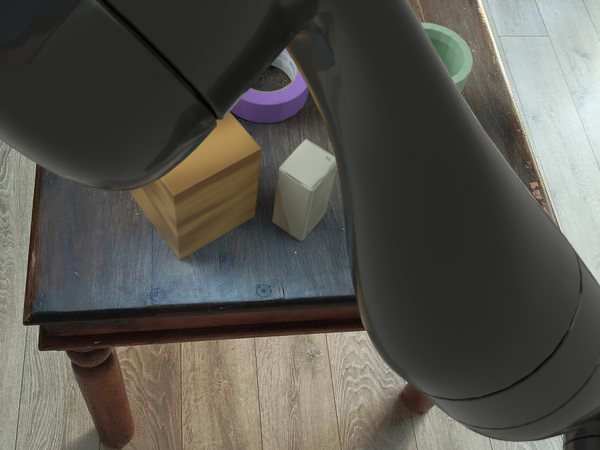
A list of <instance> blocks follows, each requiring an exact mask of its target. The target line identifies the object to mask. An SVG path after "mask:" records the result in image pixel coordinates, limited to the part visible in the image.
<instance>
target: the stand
mask: <svg viewBox="0 0 600 450" xmlns="http://www.w3.org/2000/svg"><path fill="white" fill-rule="evenodd" d="M216 121H217V127H216V128H215V129H214V130H213V131H212V132H211V133H210V134H209V136H208V137H207V138H206V139H205V140H204V141H203V142H202V143H201V144H200V145H199V146H198V147H197V148H196V149H195V150H194V151H193V152H192V153H191V154H190V155H189V156H188V157H187V158H186V159H185V160H184V161H182V162H181V163H180V164H179V165H178V166H176V167H175V168H174V169H173V170H172V171H170V172H169V173H168V174H166V175H165V176H163V177H162V178H160V179H159V180H156V181H154V182H152V183H150V184H148V185H146V186H144V187H141V188H138V189H135V190H130V194H131V197H132V198H133V200H134V201H135V203H136V204H137V206H139V208H140V209H141V210H142V212H143V213H144V215H145V216H146V217H147V218H148V220H149V221H150V223H151V224H152V225H153V226H154V228H155V229H156V231H157V232H158V233H159V235H160V236H161V237H162V239H163V240H164V241H165V243H166V244H167V246H169V249H171V251H172V252H173V253H174V256H176V258H177V259H178V260H179V261H181V260H183V259H185V258H187V257H188V256H190V255H192V254H193V253H195V252H197V251H198V250H200V249H202V248H203V247H205V246H207V245H209V244H210V243H212V242H214V241H215V240H217V239H219V238H221V237H222V236H224V235H226V234H227V233H229V232H231V231H232V230H234V229H236V228H237V227H240V226H242V224H244V223H246V222H247V221H249V220H251V219H253V218H255V216H256V206H257V196H258V187H259V186H258V185H259V177H260V167H261V156H262V147H261V146H260V145H259V144H258V143H257V142H256V140H255V139H254V138H253V136H251V135H250V134H249V132H248V131H247V129H246V128H244V126H243V125H242V124H241V123H240V122H239V120H238V119H237V118H236V117H235V116H234V115H233V113H232V112H231V111H230V112H229V113H228V114H227V115H226V116H225V117H224V119H223V120H216Z"/></svg>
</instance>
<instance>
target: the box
mask: <svg viewBox="0 0 600 450" xmlns="http://www.w3.org/2000/svg"><path fill="white" fill-rule="evenodd" d="M337 171H338V168H337V164H336V160H335V156H334V154H332V153H330V152H329V151H327V150H326V149H324V148H323V147H321V146H320V145H317V144H316V143H314V142H312V141H311V140H309V139H307V138H305V139H304V140H303V141H302V142H301V143H300V144H299V145H298V146H297V147H296V148H295V149H294V150H293V151H292V153H291V154H290V155H289V156H288V157H287V158H286V160H284V161H283V162H282V164H281V165H280V166H279V168H278V172H277V173H278V174H277V180H276V189H275V196H274V204H273V213H272V220H271V221H272V224H274V225H276V226H277V227H279V229H282V231H284V232H285V233H287V234H288V235H290V236H292V237H293V238H294V239H296V240H297V241H299V242H302V241H304V240H305V239H306V237H307V236H308V235H309V234H311V232H312V231H313V229H314V228H315V227H316V226H317V225H318V223H319V222H320V221H321V220H322V218H323V217H324V216H325V214H326V212H327V208H328V206H329V205H328V204H329V201H330V196H331V193H332V189H333V186H334V182H335V178H336V173H337Z"/></svg>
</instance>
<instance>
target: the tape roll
mask: <svg viewBox="0 0 600 450" xmlns="http://www.w3.org/2000/svg"><path fill="white" fill-rule="evenodd" d="M270 66H273V67H275V68H277V69H279V70H281V71H282V72H284V73H285V74H286V75H287V76H288V78H289V79H290V81H291V82H289V83H288V84H287V85H285V86H284V87H281V88H280V89H277V90H271V91H263V90H257V89H254V88H252V87H251V88H250V89H249V90H248V91H247V92H246V94H245V95H244V96H243V97H242V98H241V99H240V100H239V102H238V103H237V104H236V105H235V106H234V107H233V108H232V109H231V111H230V113H231V114H234V115H235V116H236V117H239V118H240V119H243V120H246V121H250V122H253V123H256V124H257V123H258V124H273V123H278V122H282V121H285V120H287V119H289V118H291V117H293V116H295V115H296V114H297V113H298V112H299V111H301V109H302V108H303V107H304V106H305V104H306V102H307V100H308V95H309V93H310V91H309V89H308V87H307V85H306V83H305V81H304V80H303V78H302V76H301V74H300V72H299V70H298V68H297V66H296V65H295V63H294V61H293V60H292V58H291V56H290V55H289V53H288V51H287V50H286V48H285V49H284V50H283V52H282V53H281V54H280V55H279V56H278V57H277V58H276V59H275V61H274V62H273V63H272V64H271V65H270Z"/></svg>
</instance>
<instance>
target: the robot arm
mask: <svg viewBox="0 0 600 450" xmlns="http://www.w3.org/2000/svg"><path fill="white" fill-rule="evenodd" d="M413 8H414V7H412V5H411V2H410V1H409V0H0V141H2V142H3V143H4V144H6V145H8V147H10V148H12V149H13V150H15V151H16V152H18V153H19V154H21V155H22V156H23V157H25V158H26V159H28V160H30V161H31V162H33V163H35V164H36V165H38V166H40V167H42V168H44V169H45V170H47V171H49V172H50V173H52V174H54V175H57V176H59V177H62V178H64V179H66V180H68V181H71V182H72V183H75V184H78V185H80V186H82V187H86V188H90V189H94V190H99V191H103V192H126V191H128V192H129V191H131V190H135V189H138V188H141V187H144V186H146V185H148V184H150V183H152V182H154V181H156V180H159V179H160V178H162V177H163V176H165V175H166V174H168V173H169V172H170V171H172V170H173V169H174V168H175V167H176V166H178V165H179V164H180V163H181V162H182V161H184V160H185V159H186V158H187V157H188V156H189V155H190V154H191V153H192V152H193V151H194V150H195V149H196V148H197V147H198V146H199V145H200V144H201V143H202V142H203V141H204V140H205V139H206V138H207V137H208V136H209V134H210V133H211V132H212V131H213V130H214V129H215V128H216V127H217V121H216V120H223V119H224V117H225V116H226V115H227V114H228V113H229V112H230V113H231V109H232V108H233V107H234V106H235V105H236V104H237V103H238V102H239V100H240V99H241V98H242V97H243V96H244V95H245V94H246V92H247V91H248V90H249V89H250V88H252V87H253V86H254V85H255V83H257V81H258V80H259V79H260V78H261V77H262V76H263V74H264V73H265V72H267V70H268V69H269V68H270V66H272V65H271V64H272V63H273V62H274V61H275V59H276V58H277V57H278V56H279V55H280V54H281V53H282V52H283V50H284V49H285V48H286V50H287V51H288V53H289V55H290V56H291V58H292V60H293V61H294V63H295V65H296V66H297V68H298V70H299V72H300V74H301V76H302V78H303V80H304V81H305V83H306V85H307V87H308V89H309V93H310V95H311V97H312V98H313V100H314V103H315V105H316V107H317V109H318V111H319V112H320V116H321V118H322V121H323V124H324V126H325V129H326V131H327V134H328V138H329V141H330V144H331V145H330V146H331V148H332V151H333V156H335V160H336V164H337V173H338V178H339V186H340V193H341V199H342V211H343V220H344V232H345V241H346V248H347V249H346V250H347V257H348V264H349V270H350V276H351V283H352V287H353V291H354V296H355V301H356V306H357V310H358V313H359V316H360V319H361V322H362V323H361V324H362V325H363V327H364V329H365V331H366V334H367V336H368V338H369V340H370V343H371V345H372V346H373V349H374V350H375V351H376V352H377V354H378V355H379V357H380V358H381V359H382V361H383V362H384V364H386V365H387V366H388V367H389V368H390V370H391V371H393V372H394V373H395V374H396V375H397V376H399V378H401V379H402V380H403V381H405V383H407V384H409V386H411V387H412V388H413V389H415V390H416V391H417V392H418V393H420V395H422V396H423V397H424V398H425V399H427V400H428V401H429V402H430V403H432V405H434V406H436V407H437V408H438V409H439V410H440V411H442V412H443V413H444V414H445V415H447V416H448V417H450V419H452V420H453V421H455V422H457V423H458V424H460V425H461V426H463V427H464V428H466V429H467V430H469V431H471V432H474V433H475V434H477V435H480V436H483V437H485V438H488V439H492V440H496V441H503V442H511V443H512V442H513V443H523V442H537V441H539V442H540V441H544V440H548V439H551V438H555V437H559V436H562V450H600V283H599V282H598V280H597V279H596V277H595V276H594V275H593V273H592V272H591V270H590V269H589V267H588V266H587V264H586V263H585V262H584V260H583V259H582V258H581V255H580V254H579V253H578V252H577V251H576V249H575V247H574V246H573V245H572V244H571V242H570V241H569V239H568V238H567V237H566V235H565V234H564V232H562V230H561V229H560V228H559V227H558V225H557V224H556V223H555V222H554V220H553V219H552V218H551V217H550V215H549V214H548V213H547V211H546V210H545V209H544V208H543V206H542V205H541V204H540V202H539V201H538V200H537V199H536V198H535V196H534V195H533V194H532V192H531V191H530V190H529V189H528V187H527V186H526V185H525V183H524V182H523V181H522V179H521V178H520V177H519V176H518V174H517V173H516V172H515V171H514V169H513V167H512V166H511V165H510V164H509V162H508V161H507V160H506V158H505V157H504V156H503V154H502V152H501V151H500V150H499V148H498V147H497V146H496V144H495V143H494V141H493V139H492V138H491V137H490V136H489V134H488V132H487V131H486V129H485V128H484V127H483V125H482V124H481V123H480V121H479V119H478V118H477V116H476V115H475V114H474V112H473V110H472V108H471V106H470V105H469V103H468V102H467V101H466V99H465V98H464V96H463V94H462V92H461V93H460V91H459V89H458V88H457V86H456V84H455V83H454V81H453V79H452V77H451V76H450V74H449V72H448V70H447V69H446V67H445V65H444V63H443V61H442V60H441V58H440V56H439V54H438V53H437V51H436V49H435V47H434V45H433V44H432V42H431V40H430V38H429V37H428V35H427V33H426V31H425V29H424V28H423V26H422V24H421V23H422V22H421V20H420V19H419V17H418V16H417V13H416V12H415V10H414V9H413Z"/></svg>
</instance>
